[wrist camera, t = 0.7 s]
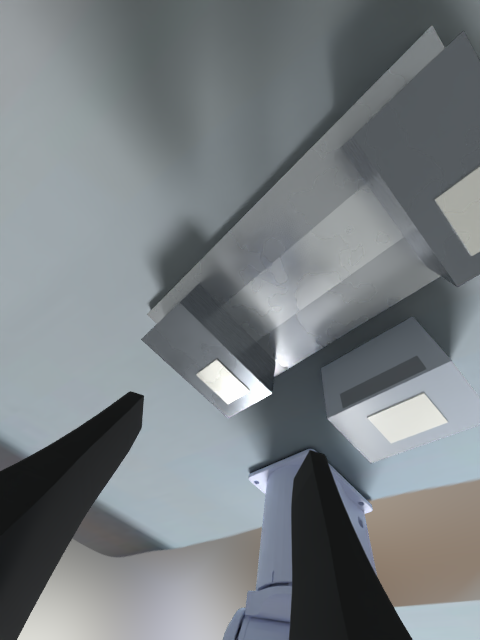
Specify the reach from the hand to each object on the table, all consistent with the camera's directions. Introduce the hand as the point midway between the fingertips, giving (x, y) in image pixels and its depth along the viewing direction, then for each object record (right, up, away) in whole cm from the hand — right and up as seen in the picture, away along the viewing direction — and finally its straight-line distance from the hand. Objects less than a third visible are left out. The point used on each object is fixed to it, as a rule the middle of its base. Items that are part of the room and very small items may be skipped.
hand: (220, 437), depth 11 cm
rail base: (+5, +8, +6) cm, 11 cm away
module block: (+11, +2, +8) cm, 14 cm away
